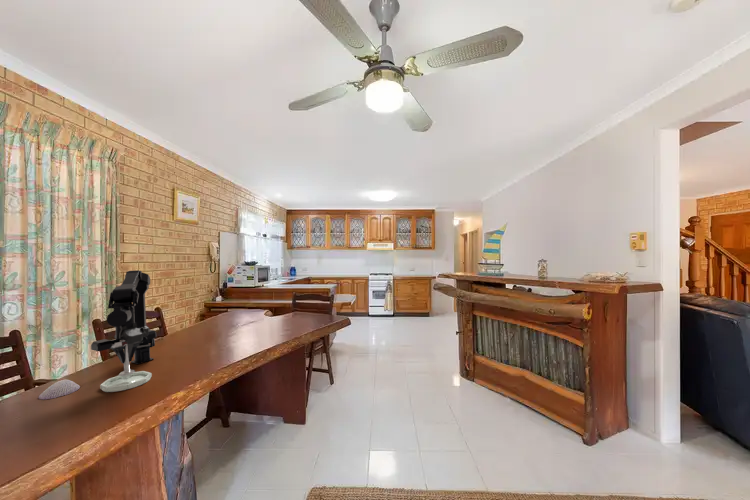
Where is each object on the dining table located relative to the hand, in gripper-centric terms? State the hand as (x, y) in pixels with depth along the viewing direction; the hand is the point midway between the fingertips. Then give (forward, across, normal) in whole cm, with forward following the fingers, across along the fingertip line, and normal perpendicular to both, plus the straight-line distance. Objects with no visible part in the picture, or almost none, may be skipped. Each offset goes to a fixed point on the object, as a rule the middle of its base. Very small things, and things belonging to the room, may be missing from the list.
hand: (126, 362), depth 116 cm
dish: (+8, 0, 0) cm, 8 cm away
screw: (+6, 0, 0) cm, 6 cm away
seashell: (+8, -14, +14) cm, 22 cm away
